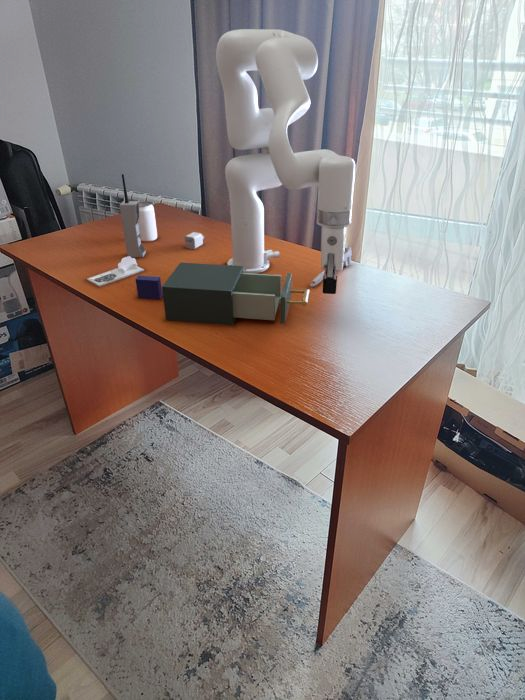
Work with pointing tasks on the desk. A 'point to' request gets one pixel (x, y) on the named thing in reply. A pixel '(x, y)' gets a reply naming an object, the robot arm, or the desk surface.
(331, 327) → the desk surface
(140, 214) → the can
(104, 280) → the car cutout
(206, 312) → the cabinet
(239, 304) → the drawer
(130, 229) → the vintage mobile phone
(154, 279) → the card deck
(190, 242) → the usb wall charger
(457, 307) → the desk surface
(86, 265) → the desk surface
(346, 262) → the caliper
